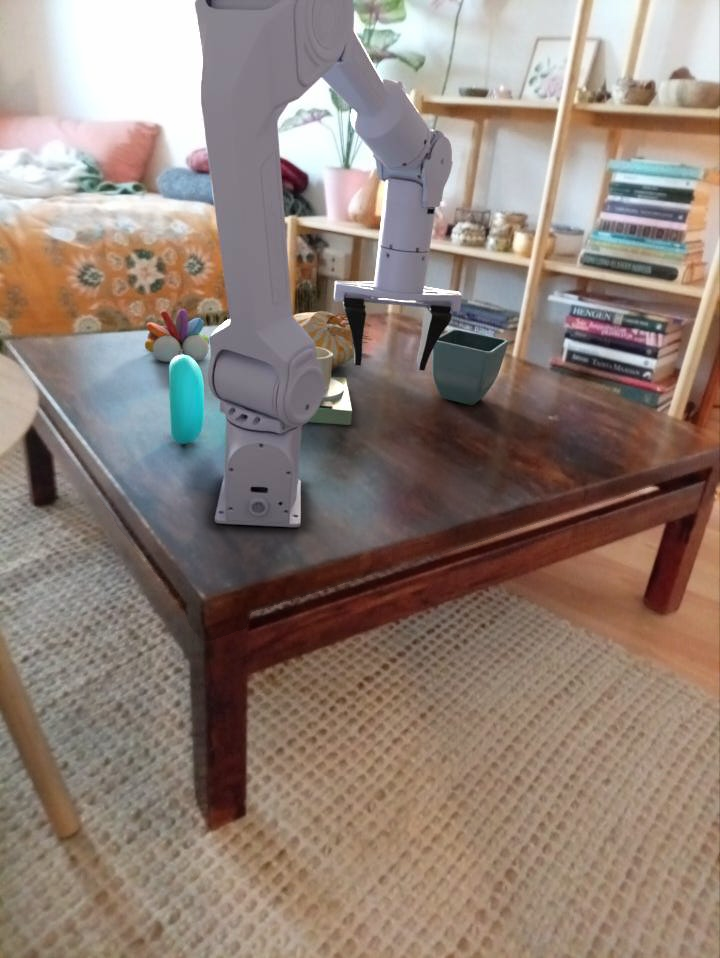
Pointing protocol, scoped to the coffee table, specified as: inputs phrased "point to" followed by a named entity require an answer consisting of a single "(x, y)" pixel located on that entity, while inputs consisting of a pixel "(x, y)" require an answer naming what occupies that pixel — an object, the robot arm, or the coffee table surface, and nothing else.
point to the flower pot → (466, 365)
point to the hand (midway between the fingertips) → (389, 365)
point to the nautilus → (329, 334)
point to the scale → (334, 404)
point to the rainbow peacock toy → (177, 338)
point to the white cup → (325, 364)
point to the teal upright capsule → (185, 399)
